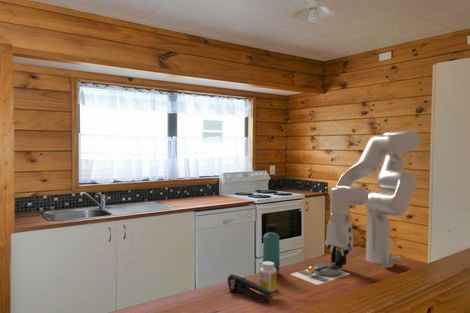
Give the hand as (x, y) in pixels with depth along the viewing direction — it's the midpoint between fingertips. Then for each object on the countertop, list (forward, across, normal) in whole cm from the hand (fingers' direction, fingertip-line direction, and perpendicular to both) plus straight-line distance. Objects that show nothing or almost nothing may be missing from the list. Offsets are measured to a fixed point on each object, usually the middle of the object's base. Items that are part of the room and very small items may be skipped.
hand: (338, 263), depth 140 cm
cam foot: (+2, 0, +7) cm, 7 cm away
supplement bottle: (+4, +1, +38) cm, 38 cm away
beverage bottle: (+4, +12, +26) cm, 29 cm away
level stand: (+4, 0, +11) cm, 12 cm away
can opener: (+4, +4, +44) cm, 44 cm away
